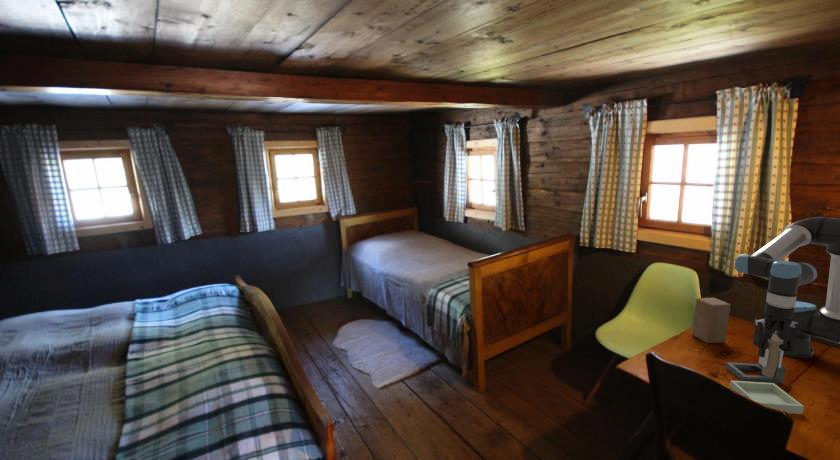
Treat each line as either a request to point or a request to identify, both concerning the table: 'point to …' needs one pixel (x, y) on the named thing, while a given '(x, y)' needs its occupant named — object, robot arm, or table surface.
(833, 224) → the robot arm
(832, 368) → the table surface
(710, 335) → the wooden block
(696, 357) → the table surface
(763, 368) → the handle
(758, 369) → the socket
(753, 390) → the tray
